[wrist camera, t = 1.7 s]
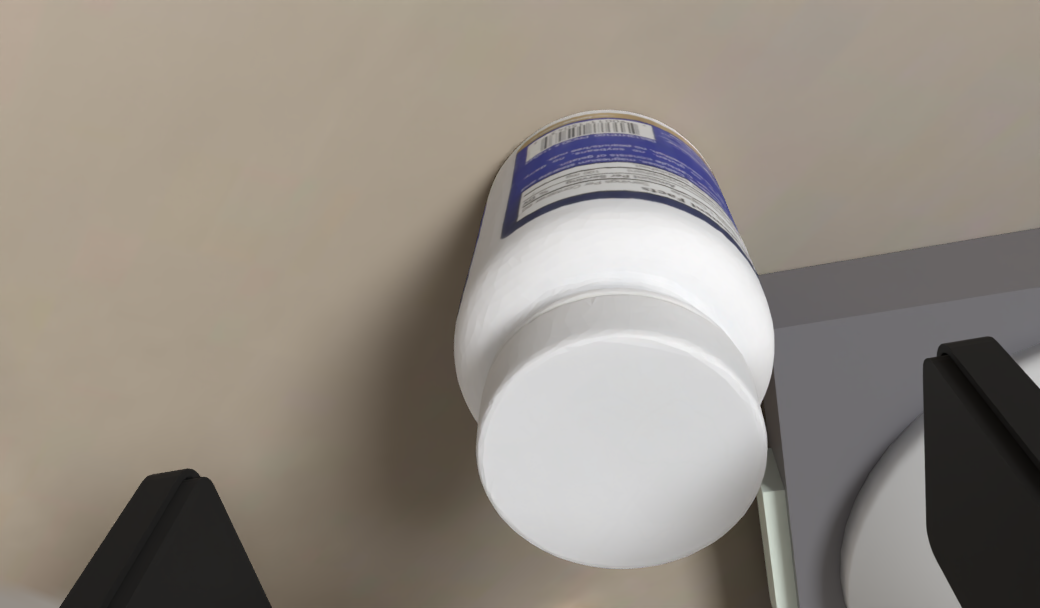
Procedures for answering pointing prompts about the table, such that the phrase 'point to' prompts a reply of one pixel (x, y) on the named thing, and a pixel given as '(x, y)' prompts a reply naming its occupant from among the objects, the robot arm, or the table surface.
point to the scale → (874, 411)
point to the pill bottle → (614, 346)
